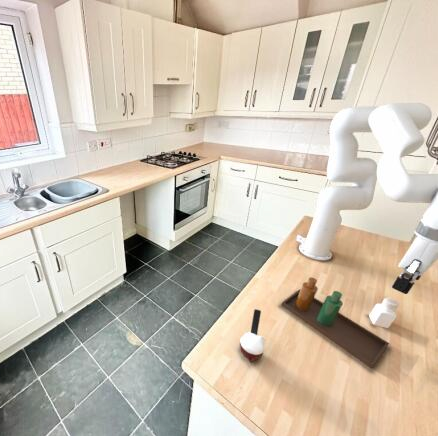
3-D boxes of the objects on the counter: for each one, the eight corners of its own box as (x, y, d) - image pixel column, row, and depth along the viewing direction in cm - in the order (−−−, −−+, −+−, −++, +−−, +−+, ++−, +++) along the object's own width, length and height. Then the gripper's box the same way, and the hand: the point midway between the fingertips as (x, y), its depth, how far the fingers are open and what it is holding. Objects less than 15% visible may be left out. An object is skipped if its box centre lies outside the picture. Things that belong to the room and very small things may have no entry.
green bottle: (313, 319, 78) (326, 292, 72) (320, 313, 80) (333, 286, 74) (328, 328, 75) (342, 301, 69) (334, 322, 77) (349, 295, 71)
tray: (280, 306, 83) (282, 302, 82) (298, 293, 88) (300, 288, 87) (370, 369, 64) (373, 365, 63) (386, 347, 70) (389, 343, 69)
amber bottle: (292, 304, 83) (302, 278, 77) (299, 299, 85) (309, 273, 79) (305, 313, 80) (316, 286, 74) (311, 307, 82) (323, 281, 76)
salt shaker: (372, 325, 76) (386, 304, 71) (367, 315, 79) (380, 294, 75) (388, 329, 75) (403, 308, 70) (382, 319, 78) (397, 298, 73)
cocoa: (254, 372, 64) (263, 343, 59) (232, 356, 68) (239, 328, 63) (267, 347, 70) (277, 319, 65) (247, 334, 74) (254, 306, 68)
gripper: (426, 217, 68) (398, 265, 76) (406, 235, 59) (376, 288, 67) (468, 228, 62) (432, 279, 70) (451, 250, 54) (413, 305, 62)
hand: (405, 283), depth 69 cm, fingers open, 9 cm apart
